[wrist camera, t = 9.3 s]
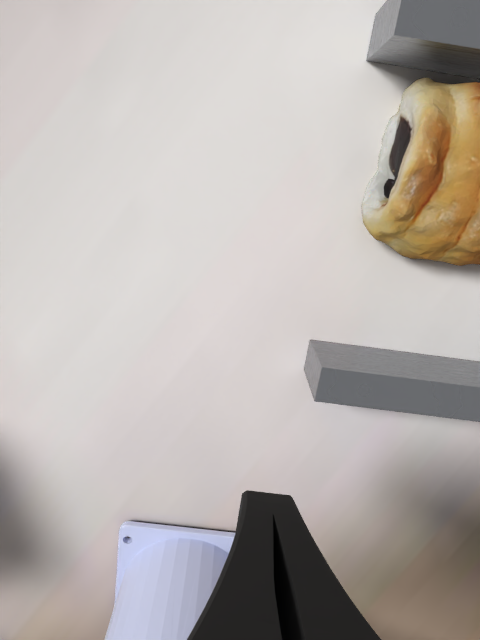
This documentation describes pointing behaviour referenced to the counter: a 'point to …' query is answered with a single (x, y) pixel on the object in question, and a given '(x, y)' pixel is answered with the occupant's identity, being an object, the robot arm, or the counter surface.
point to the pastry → (429, 175)
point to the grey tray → (387, 365)
